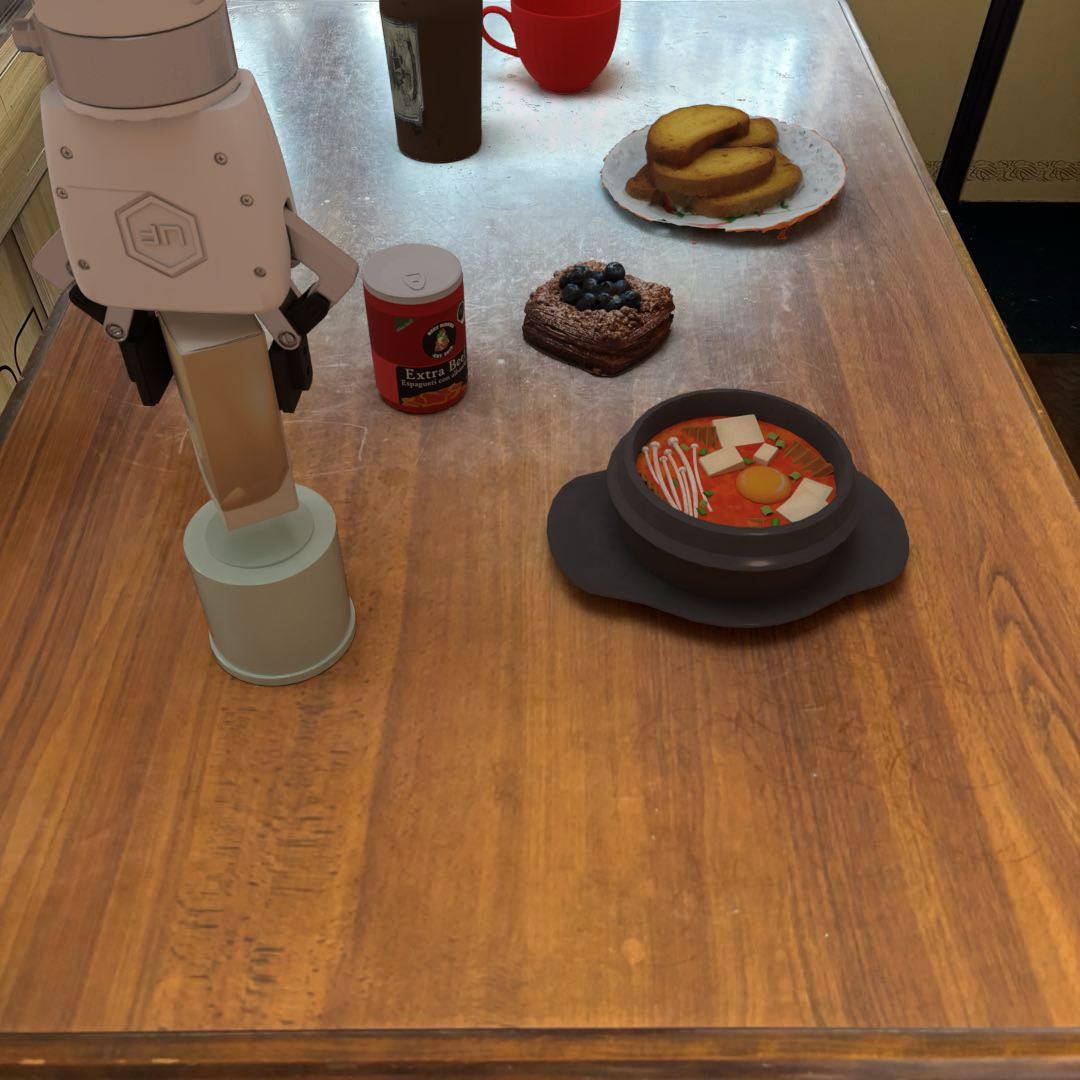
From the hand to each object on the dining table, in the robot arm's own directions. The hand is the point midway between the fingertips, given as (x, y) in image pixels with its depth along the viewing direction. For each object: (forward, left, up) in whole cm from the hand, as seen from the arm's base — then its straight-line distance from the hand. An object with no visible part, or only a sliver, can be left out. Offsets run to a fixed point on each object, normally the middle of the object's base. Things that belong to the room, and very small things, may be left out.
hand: (226, 391), depth 59 cm
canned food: (+5, +27, -19) cm, 34 cm away
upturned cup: (0, 0, -19) cm, 19 cm away
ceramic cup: (+11, +90, -19) cm, 93 cm away
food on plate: (+31, +64, -19) cm, 74 cm away
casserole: (+29, +10, -19) cm, 36 cm away
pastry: (+19, +36, -19) cm, 45 cm away
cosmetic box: (0, 0, -7) cm, 7 cm away
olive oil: (0, +72, -19) cm, 75 cm away
